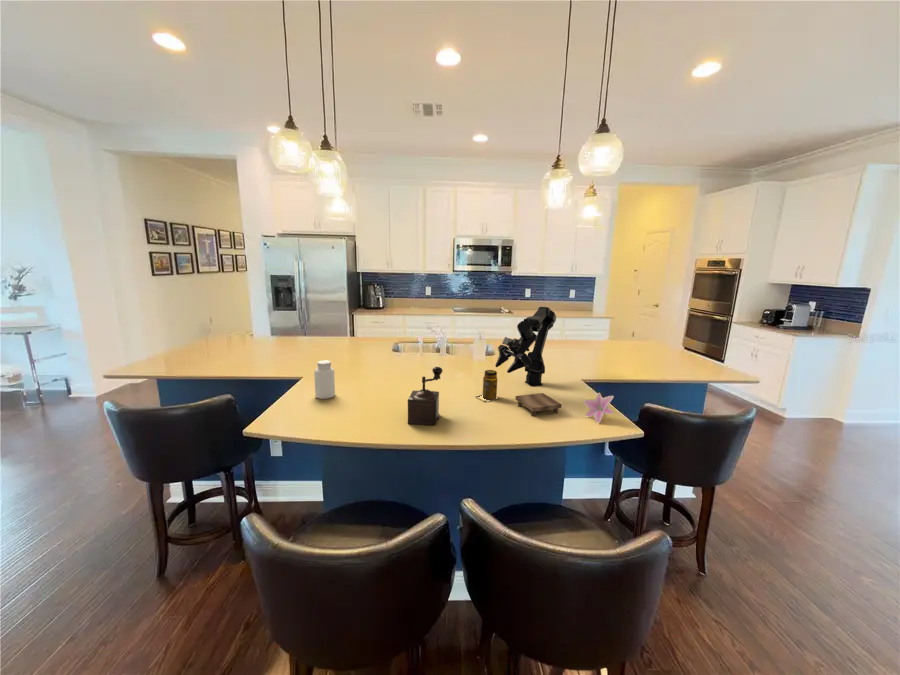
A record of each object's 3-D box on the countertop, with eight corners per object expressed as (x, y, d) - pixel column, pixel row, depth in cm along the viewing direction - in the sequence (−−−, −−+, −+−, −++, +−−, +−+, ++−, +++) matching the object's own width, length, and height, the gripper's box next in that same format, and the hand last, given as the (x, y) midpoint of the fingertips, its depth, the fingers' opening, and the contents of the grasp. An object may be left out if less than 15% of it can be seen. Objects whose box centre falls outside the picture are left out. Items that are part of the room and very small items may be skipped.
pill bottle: (339, 394, 159) (337, 360, 156) (325, 400, 152) (324, 365, 149) (325, 391, 162) (323, 358, 159) (311, 397, 155) (309, 362, 152)
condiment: (500, 399, 159) (502, 372, 157) (485, 402, 155) (486, 375, 152) (489, 393, 165) (491, 368, 163) (474, 397, 161) (475, 370, 158)
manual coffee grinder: (437, 426, 131) (438, 378, 128) (406, 424, 132) (407, 376, 129) (442, 409, 147) (443, 365, 143) (414, 407, 147) (415, 364, 144)
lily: (581, 412, 150) (577, 395, 145) (610, 403, 148) (606, 385, 144) (593, 434, 139) (589, 416, 135) (624, 424, 138) (621, 406, 133)
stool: (541, 401, 157) (542, 392, 156) (560, 413, 145) (561, 404, 144) (514, 405, 153) (515, 396, 152) (532, 417, 141) (532, 407, 140)
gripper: (502, 327, 167) (480, 352, 165) (527, 334, 150) (503, 363, 148) (515, 342, 172) (494, 368, 169) (541, 352, 155) (518, 380, 153)
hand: (501, 369), depth 160 cm, fingers open, 9 cm apart
